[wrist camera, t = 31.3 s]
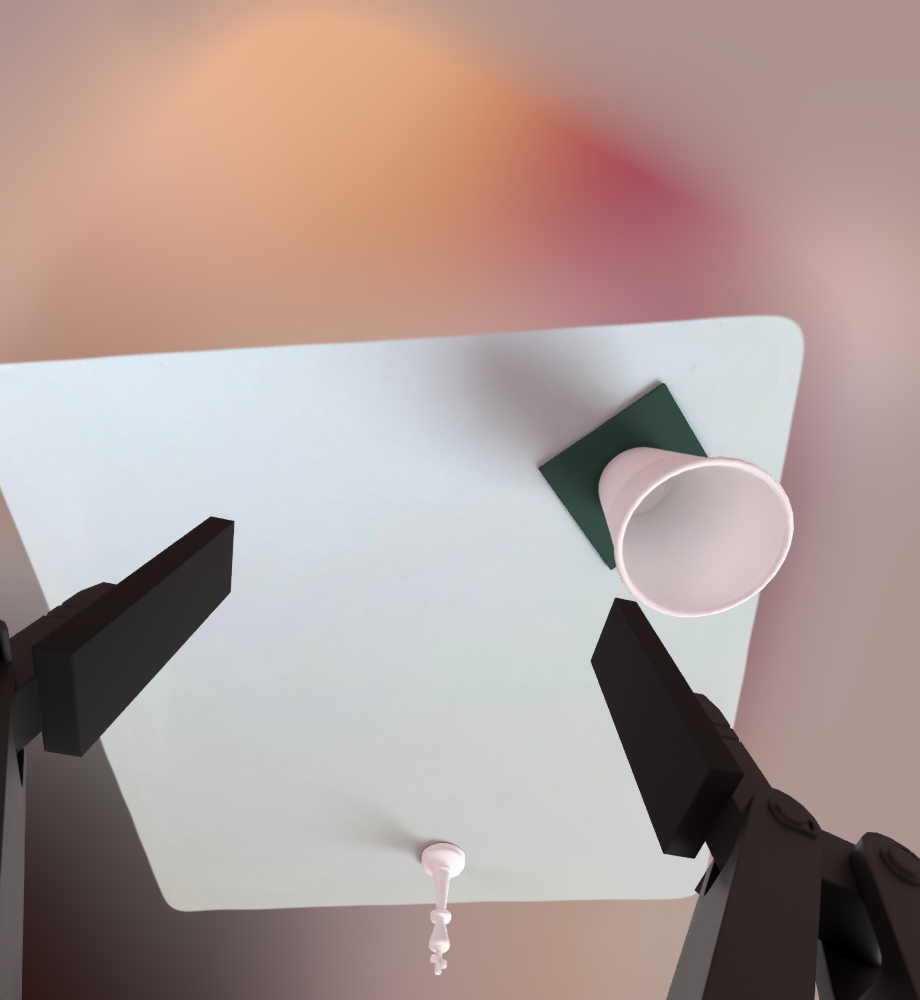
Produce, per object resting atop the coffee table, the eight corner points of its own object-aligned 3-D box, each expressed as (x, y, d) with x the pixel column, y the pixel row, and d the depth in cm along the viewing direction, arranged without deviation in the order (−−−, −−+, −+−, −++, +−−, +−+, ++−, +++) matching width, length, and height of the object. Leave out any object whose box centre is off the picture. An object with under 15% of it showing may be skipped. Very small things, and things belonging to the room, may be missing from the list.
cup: (557, 448, 35) (594, 495, 25) (686, 401, 34) (781, 430, 24) (592, 556, 38) (638, 638, 28) (711, 517, 37) (805, 588, 27)
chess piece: (445, 877, 53) (440, 995, 44) (412, 857, 52) (400, 973, 43) (474, 857, 52) (475, 973, 42) (441, 836, 51) (435, 950, 41)
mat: (538, 468, 36) (539, 469, 36) (662, 383, 34) (665, 383, 34) (609, 568, 39) (611, 570, 39) (728, 495, 37) (731, 497, 37)
